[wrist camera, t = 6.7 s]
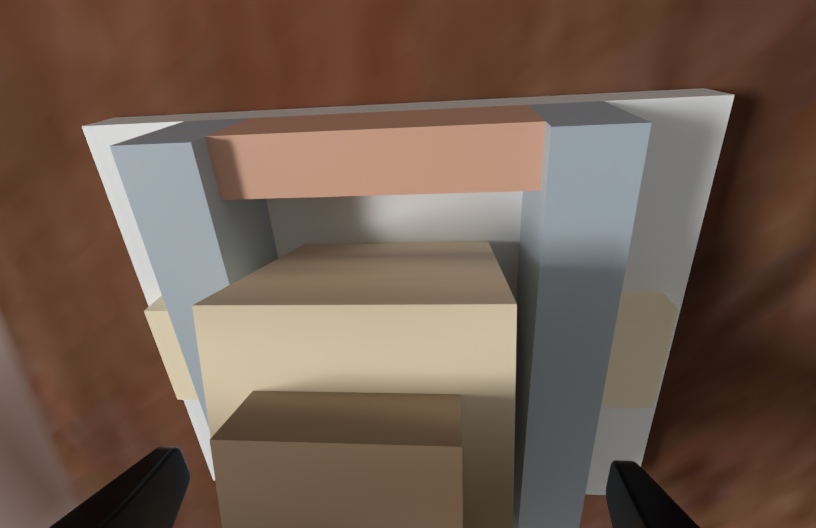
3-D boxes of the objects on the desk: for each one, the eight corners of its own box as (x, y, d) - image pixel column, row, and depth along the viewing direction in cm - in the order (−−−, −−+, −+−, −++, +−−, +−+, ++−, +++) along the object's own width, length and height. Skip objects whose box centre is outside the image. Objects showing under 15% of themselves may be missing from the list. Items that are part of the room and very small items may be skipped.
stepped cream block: (487, 526, 12) (519, 866, 6) (328, 519, 13) (219, 830, 7) (488, 240, 11) (532, 339, 5) (304, 244, 11) (133, 336, 5)
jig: (620, 464, 15) (666, 581, 12) (228, 452, 17) (174, 553, 14) (704, 88, 10) (829, 114, 7) (116, 117, 11) (-21, 150, 8)
